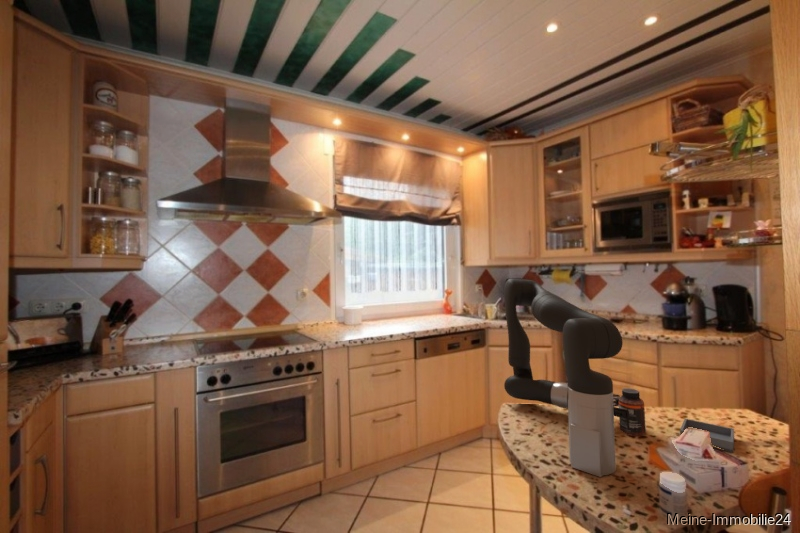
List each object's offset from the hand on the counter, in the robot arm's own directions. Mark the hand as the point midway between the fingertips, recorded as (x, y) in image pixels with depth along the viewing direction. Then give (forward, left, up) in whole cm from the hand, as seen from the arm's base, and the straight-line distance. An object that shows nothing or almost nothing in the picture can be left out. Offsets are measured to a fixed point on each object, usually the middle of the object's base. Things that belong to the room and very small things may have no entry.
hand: (632, 410), depth 96 cm
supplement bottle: (0, 0, -6) cm, 6 cm away
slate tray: (+8, -15, -6) cm, 18 cm away
